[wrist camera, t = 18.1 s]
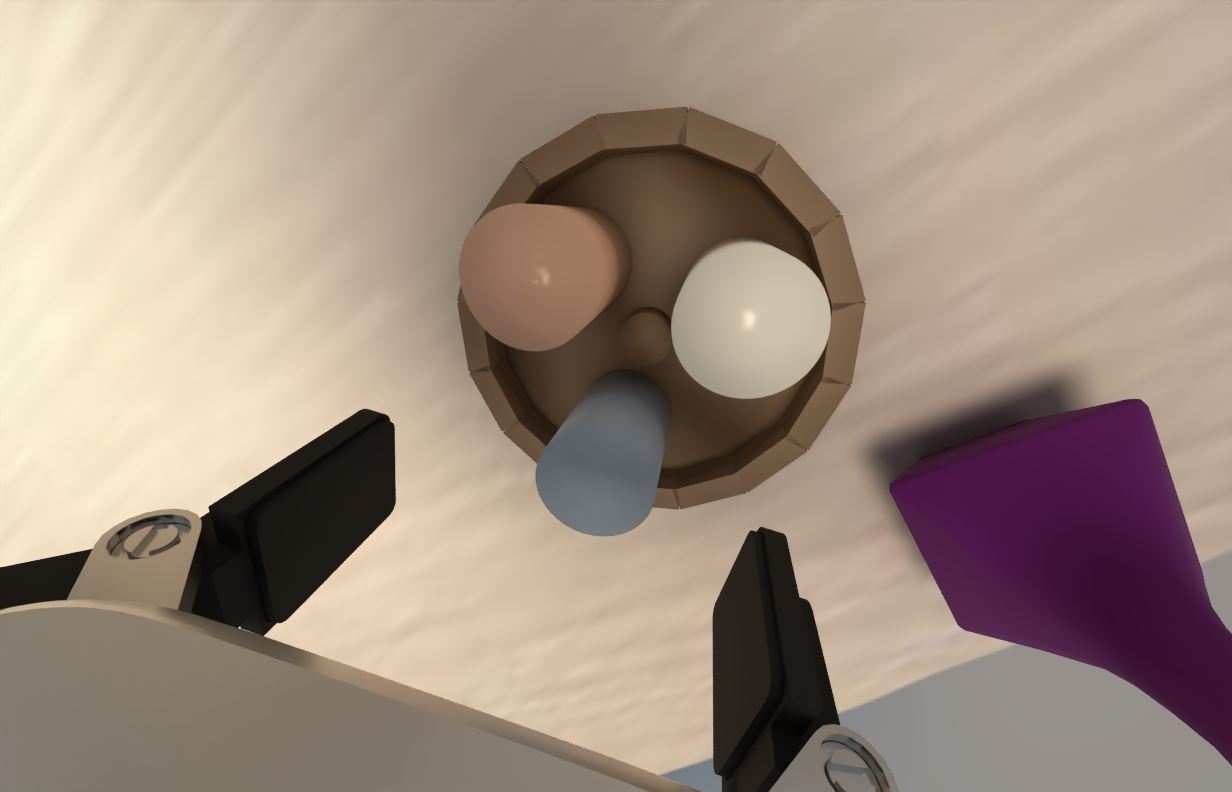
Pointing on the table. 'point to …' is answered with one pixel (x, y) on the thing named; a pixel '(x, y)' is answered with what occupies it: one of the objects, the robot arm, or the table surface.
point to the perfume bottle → (1077, 554)
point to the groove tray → (676, 292)
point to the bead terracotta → (542, 272)
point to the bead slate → (607, 455)
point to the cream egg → (749, 319)
